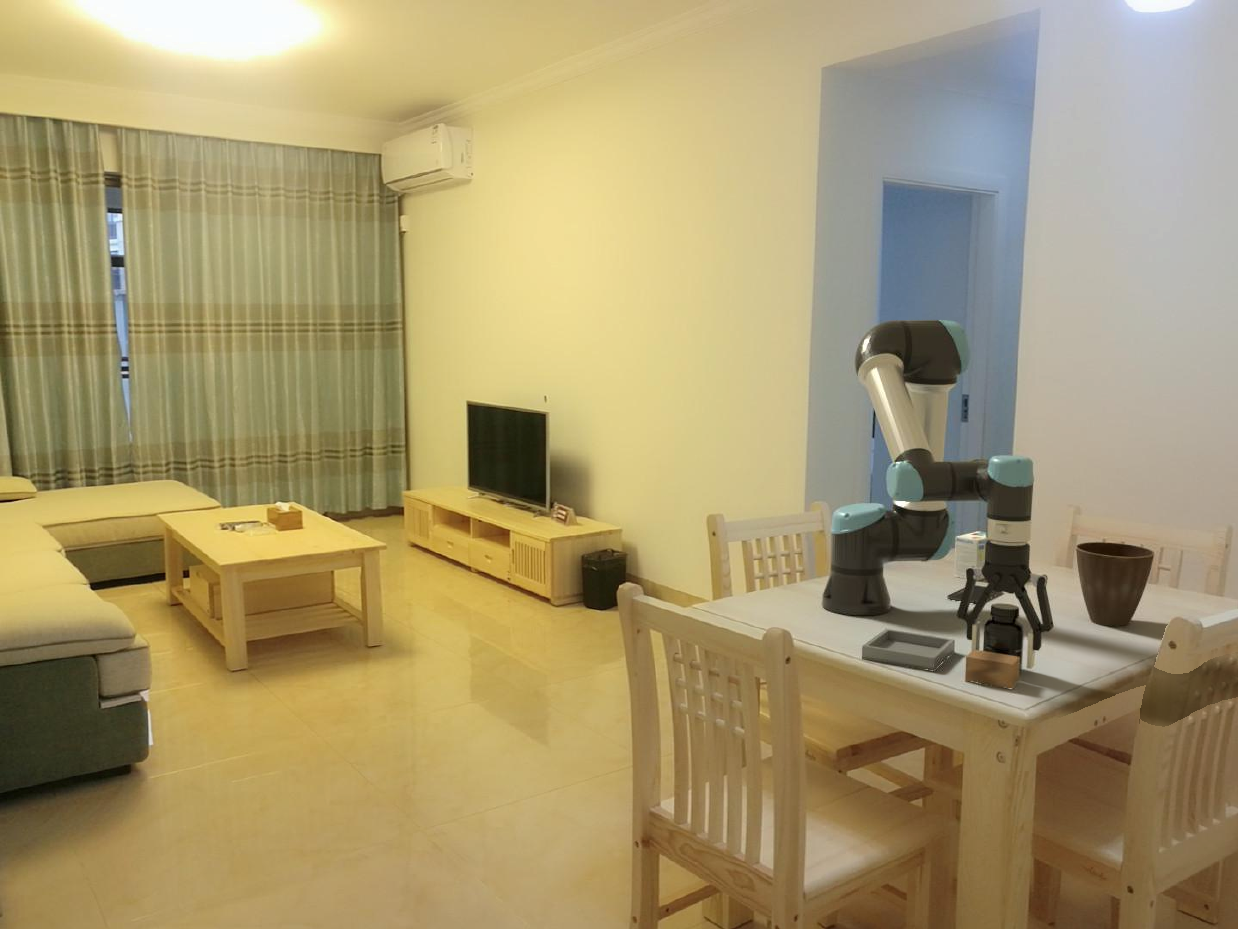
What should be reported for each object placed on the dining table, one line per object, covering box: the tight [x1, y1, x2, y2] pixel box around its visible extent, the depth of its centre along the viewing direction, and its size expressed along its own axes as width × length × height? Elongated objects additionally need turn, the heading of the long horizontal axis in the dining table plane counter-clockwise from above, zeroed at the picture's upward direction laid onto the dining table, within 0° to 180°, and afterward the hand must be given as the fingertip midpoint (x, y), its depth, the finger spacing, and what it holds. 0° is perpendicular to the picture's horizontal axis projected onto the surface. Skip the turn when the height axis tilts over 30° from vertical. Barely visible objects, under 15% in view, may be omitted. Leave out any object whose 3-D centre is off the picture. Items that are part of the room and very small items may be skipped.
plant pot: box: [1075, 541, 1155, 628], centre depth 211 cm, size 15×15×16 cm
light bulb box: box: [953, 530, 989, 582], centre depth 254 cm, size 11×7×11 cm, turn 130°
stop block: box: [964, 649, 1020, 689], centre depth 175 cm, size 8×5×4 cm, turn 56°
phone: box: [946, 584, 1003, 605], centre depth 235 cm, size 8×1×15 cm
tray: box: [861, 628, 956, 672], centre depth 190 cm, size 14×14×2 cm
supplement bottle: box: [982, 602, 1025, 674], centre depth 181 cm, size 7×7×12 cm
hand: (1002, 661), depth 182 cm, fingers open, 9 cm apart
